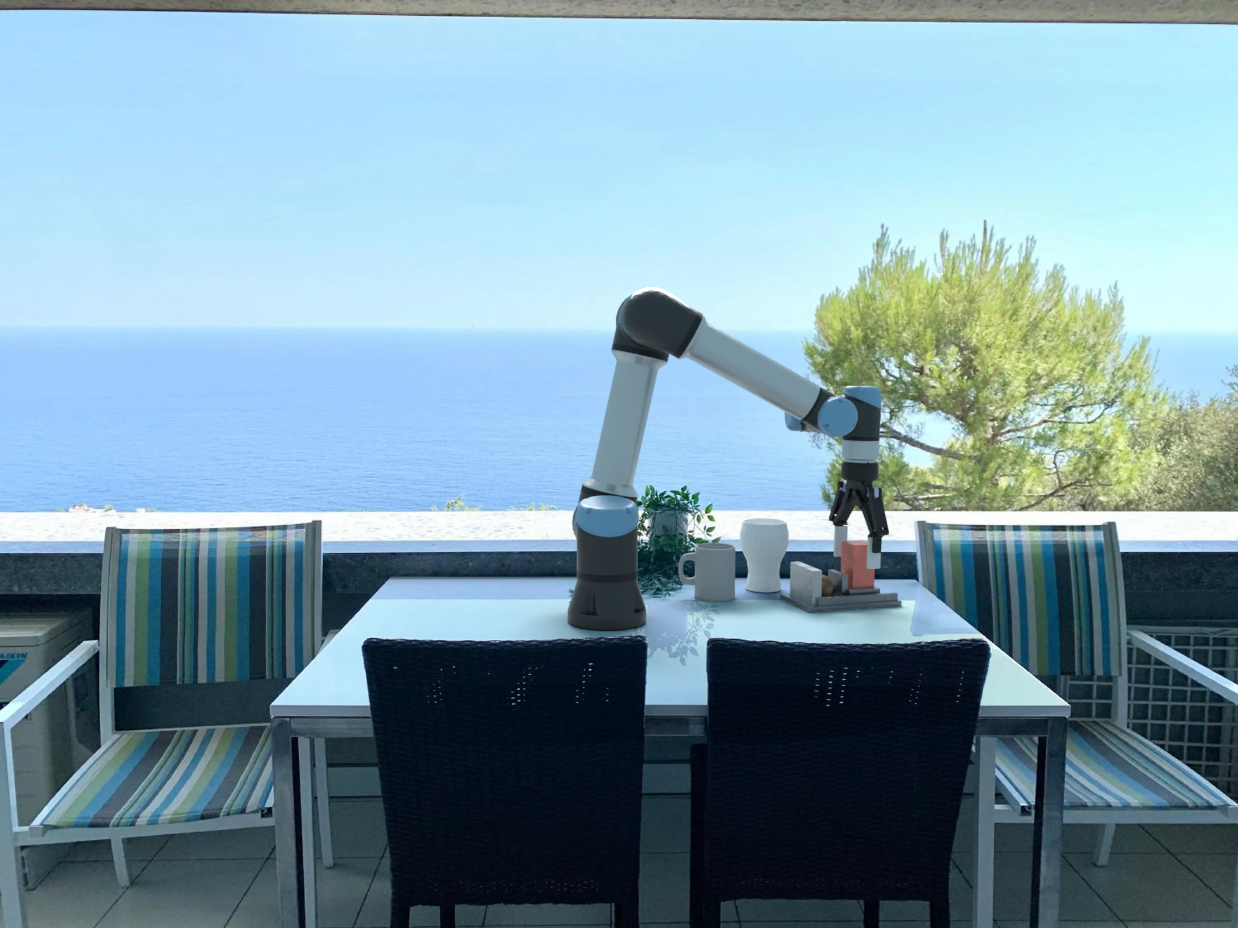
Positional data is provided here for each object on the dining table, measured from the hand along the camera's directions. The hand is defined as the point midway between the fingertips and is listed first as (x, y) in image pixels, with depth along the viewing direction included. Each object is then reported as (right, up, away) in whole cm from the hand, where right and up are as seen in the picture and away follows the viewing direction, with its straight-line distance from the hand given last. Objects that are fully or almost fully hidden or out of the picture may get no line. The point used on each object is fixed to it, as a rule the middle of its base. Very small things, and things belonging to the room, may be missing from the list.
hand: (856, 562), depth 214 cm
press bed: (-3, -8, 0) cm, 9 cm away
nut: (-8, -8, -2) cm, 12 cm away
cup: (-18, -7, +12) cm, 23 cm away
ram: (-1, -7, 0) cm, 7 cm away
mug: (-31, -8, +4) cm, 32 cm away
